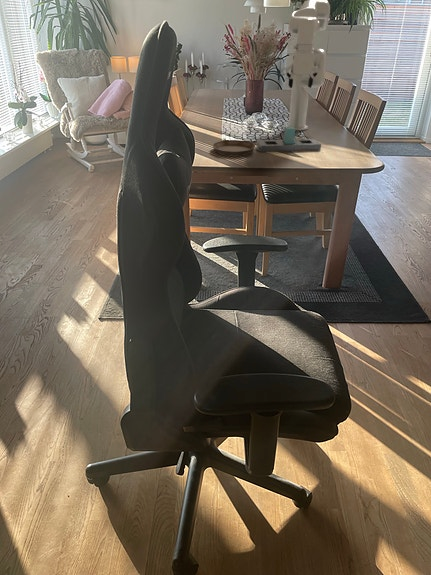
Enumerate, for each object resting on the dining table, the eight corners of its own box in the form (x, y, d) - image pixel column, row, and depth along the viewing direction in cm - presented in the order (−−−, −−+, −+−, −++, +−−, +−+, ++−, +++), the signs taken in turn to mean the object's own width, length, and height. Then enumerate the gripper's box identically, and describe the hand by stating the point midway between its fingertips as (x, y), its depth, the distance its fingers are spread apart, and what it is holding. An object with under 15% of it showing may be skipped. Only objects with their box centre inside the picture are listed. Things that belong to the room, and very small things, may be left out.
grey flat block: (256, 146, 231) (256, 140, 230) (313, 144, 236) (314, 138, 234) (261, 152, 223) (261, 146, 222) (320, 150, 227) (321, 144, 226)
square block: (283, 147, 231) (285, 126, 225) (290, 147, 231) (293, 126, 226) (285, 149, 228) (287, 128, 222) (293, 149, 228) (295, 128, 223)
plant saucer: (203, 151, 224) (203, 144, 222) (232, 143, 236) (233, 137, 235) (234, 161, 212) (234, 153, 210) (263, 152, 224) (264, 145, 222)
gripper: (288, 49, 213) (285, 88, 222) (324, 49, 215) (319, 88, 224) (284, 47, 219) (281, 86, 228) (319, 47, 221) (314, 85, 231)
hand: (300, 87), depth 226 cm, fingers open, 9 cm apart
